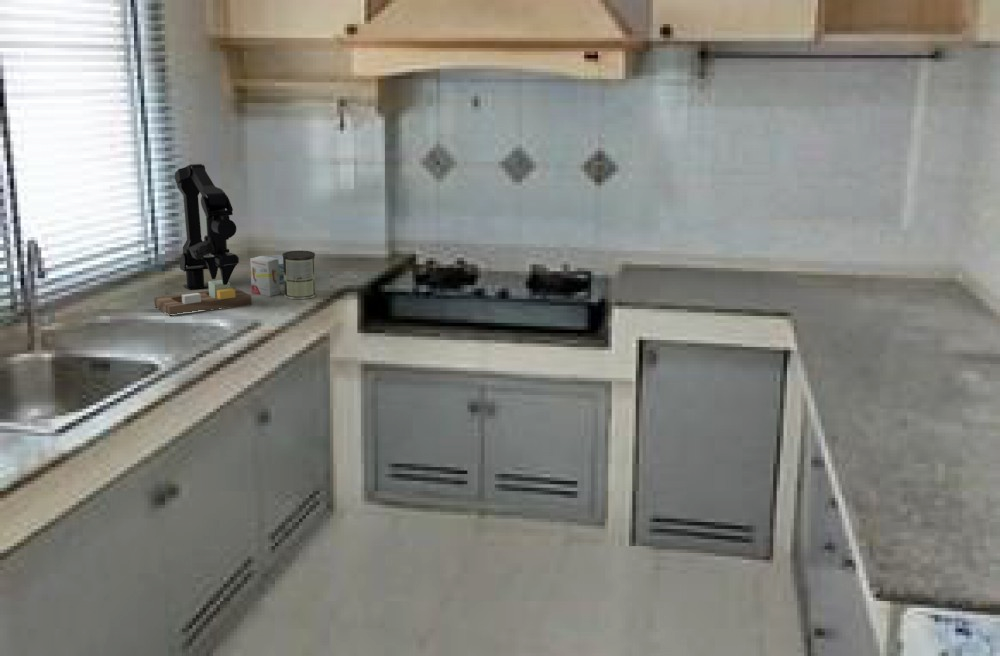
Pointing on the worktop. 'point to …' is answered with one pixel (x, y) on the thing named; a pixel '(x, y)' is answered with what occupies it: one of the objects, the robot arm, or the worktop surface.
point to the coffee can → (299, 274)
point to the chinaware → (281, 270)
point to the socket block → (202, 301)
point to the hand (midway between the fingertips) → (219, 281)
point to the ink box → (265, 275)
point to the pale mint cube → (216, 287)
